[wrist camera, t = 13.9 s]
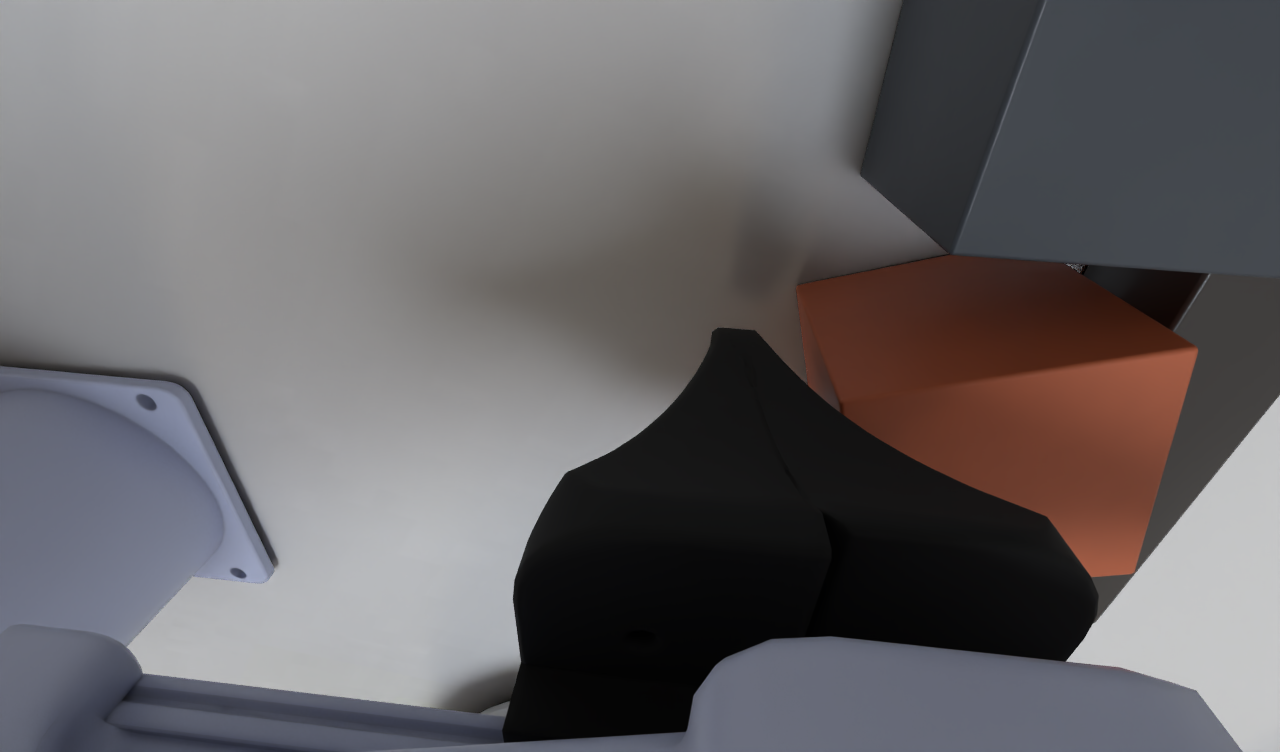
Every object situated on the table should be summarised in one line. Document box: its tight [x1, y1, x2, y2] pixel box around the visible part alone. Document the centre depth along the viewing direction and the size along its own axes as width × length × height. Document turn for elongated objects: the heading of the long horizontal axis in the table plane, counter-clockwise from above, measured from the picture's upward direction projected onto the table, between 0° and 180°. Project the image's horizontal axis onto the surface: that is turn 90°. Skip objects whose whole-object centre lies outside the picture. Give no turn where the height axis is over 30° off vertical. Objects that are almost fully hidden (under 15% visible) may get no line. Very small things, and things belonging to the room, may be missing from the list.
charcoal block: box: [861, 0, 1280, 279], centre depth 7 cm, size 4×4×4 cm
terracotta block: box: [796, 255, 1198, 577], centre depth 11 cm, size 4×4×4 cm
